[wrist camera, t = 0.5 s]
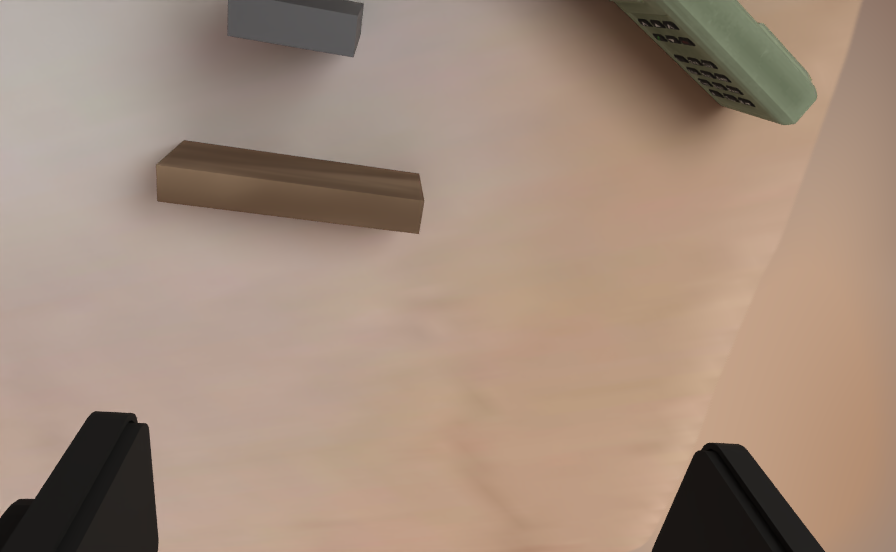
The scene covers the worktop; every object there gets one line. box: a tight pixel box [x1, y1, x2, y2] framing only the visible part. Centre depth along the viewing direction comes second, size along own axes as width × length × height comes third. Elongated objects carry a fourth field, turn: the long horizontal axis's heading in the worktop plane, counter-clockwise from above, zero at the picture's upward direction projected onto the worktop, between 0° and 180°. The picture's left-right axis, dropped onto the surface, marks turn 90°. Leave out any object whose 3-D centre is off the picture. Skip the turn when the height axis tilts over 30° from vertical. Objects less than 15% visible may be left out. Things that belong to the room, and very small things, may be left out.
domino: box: [228, 0, 364, 57], centre depth 28 cm, size 2×5×10 cm, turn 80°
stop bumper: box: [156, 140, 424, 234], centre depth 35 cm, size 2×14×5 cm, turn 80°
